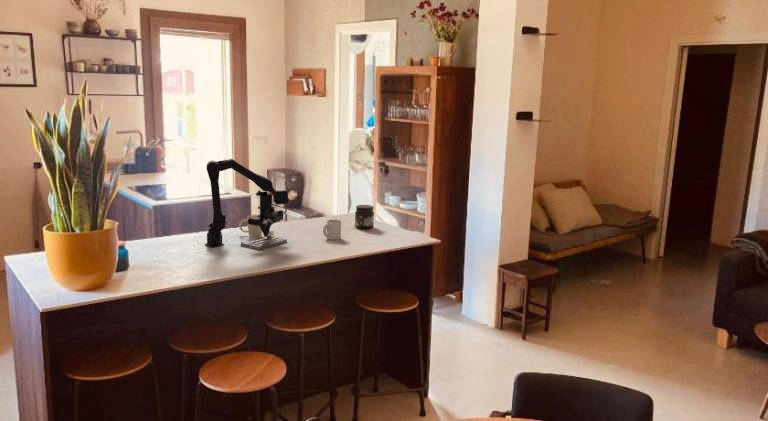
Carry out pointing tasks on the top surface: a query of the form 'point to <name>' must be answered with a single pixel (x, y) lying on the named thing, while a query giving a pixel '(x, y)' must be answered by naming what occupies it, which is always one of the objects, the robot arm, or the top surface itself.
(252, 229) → the mug
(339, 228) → the cup
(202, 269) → the top surface
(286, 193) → the robot arm
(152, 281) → the top surface
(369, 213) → the supplement container
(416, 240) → the top surface
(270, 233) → the fader tab
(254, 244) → the console board
